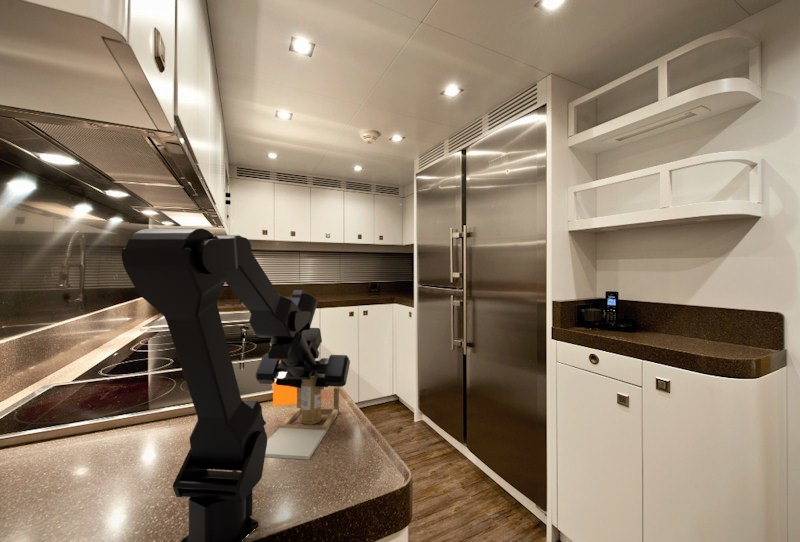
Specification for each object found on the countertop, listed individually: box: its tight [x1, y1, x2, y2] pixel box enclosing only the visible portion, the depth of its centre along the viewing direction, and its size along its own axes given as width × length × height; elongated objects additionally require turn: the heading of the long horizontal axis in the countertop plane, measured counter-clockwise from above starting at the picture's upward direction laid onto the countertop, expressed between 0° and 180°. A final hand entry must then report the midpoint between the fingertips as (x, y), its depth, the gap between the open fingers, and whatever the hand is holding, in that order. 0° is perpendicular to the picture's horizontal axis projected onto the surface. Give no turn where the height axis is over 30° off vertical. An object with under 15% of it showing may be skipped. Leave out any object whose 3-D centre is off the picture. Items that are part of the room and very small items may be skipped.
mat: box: [265, 428, 328, 460], centre depth 63 cm, size 10×10×1 cm
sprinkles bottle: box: [300, 358, 322, 425], centre depth 73 cm, size 5×5×14 cm
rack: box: [278, 386, 340, 431], centre depth 73 cm, size 10×10×6 cm
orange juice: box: [272, 360, 297, 407], centre depth 86 cm, size 8×9×20 cm
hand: (313, 387), depth 74 cm, fingers closed on sprinkles bottle, 4 cm apart
